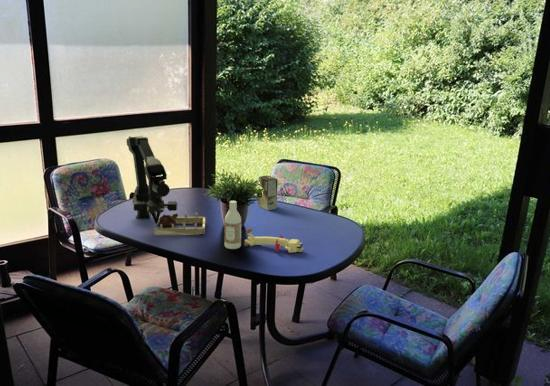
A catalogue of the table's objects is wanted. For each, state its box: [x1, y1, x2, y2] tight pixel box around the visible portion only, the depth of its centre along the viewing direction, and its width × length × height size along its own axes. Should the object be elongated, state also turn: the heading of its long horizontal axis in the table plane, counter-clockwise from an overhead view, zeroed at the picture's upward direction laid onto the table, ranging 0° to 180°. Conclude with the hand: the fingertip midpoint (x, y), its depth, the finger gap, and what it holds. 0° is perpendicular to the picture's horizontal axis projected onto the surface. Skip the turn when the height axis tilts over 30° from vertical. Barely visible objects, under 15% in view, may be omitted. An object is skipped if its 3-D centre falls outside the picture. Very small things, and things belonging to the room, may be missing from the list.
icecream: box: [156, 212, 179, 228], centre depth 222 cm, size 7×7×15 cm
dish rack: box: [153, 212, 206, 236], centre depth 224 cm, size 15×22×5 cm
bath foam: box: [224, 200, 242, 250], centre depth 204 cm, size 7×7×20 cm
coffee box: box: [257, 175, 278, 211], centre depth 255 cm, size 9×6×16 cm
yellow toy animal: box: [243, 227, 305, 254], centre depth 206 cm, size 10×9×25 cm
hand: (156, 223), depth 222 cm, fingers closed
